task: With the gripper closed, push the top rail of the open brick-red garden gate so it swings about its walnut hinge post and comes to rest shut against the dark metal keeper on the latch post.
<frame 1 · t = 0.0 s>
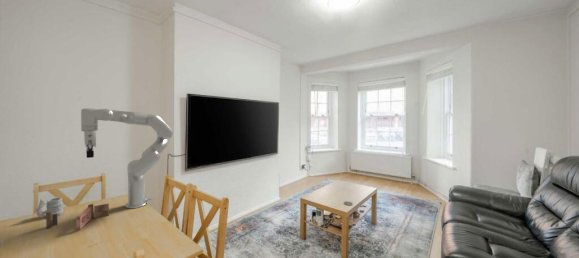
hand: (90, 156, 138), 37 cm above the table, tool pointing down, fingers open, 9 cm apart
mug: (50, 216, 136), on the table
gate: (84, 217, 126), point 4 cm above the table, hinge at 70.0°
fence: (90, 218, 135), on the table
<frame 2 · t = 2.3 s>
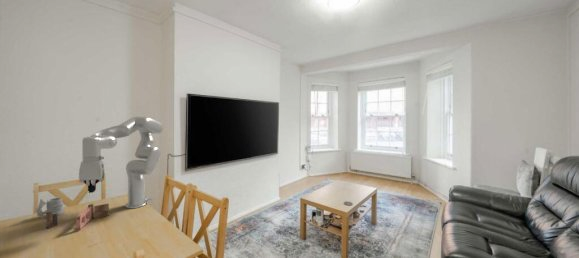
hand: (91, 191, 124), 20 cm above the table, tool pointing down, fingers closed
nothing on the table moved.
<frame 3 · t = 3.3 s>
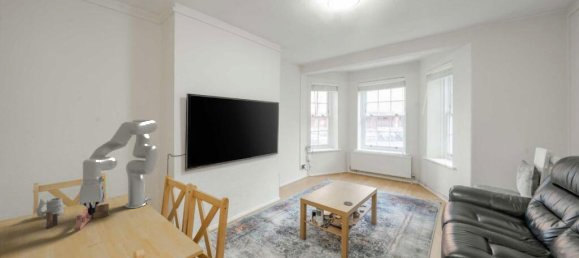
hand: (91, 214, 124), 8 cm above the table, tool pointing down, fingers closed
nothing on the table moved.
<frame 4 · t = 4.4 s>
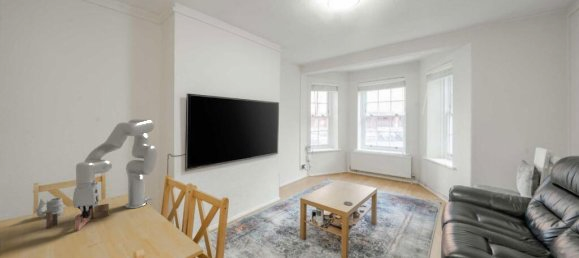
hand: (86, 217, 124), 6 cm above the table, tool pointing down, fingers closed
gate: (83, 217, 126), point 4 cm above the table, hinge at 67.8°, touching gripper
everything else where it was.
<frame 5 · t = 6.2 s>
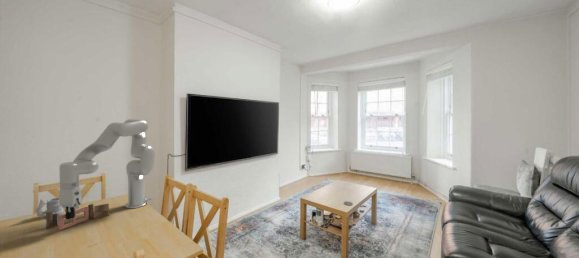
hand: (70, 218, 122), 6 cm above the table, tool pointing down, fingers closed
gate: (74, 217, 126), point 4 cm above the table, hinge at 32.6°, touching gripper
everything else where it was.
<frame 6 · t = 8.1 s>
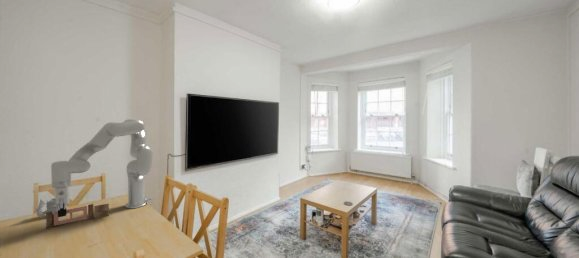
hand: (62, 216, 124), 6 cm above the table, tool pointing down, fingers closed
gate: (71, 215, 129), point 4 cm above the table, hinge at -0.1°, touching gripper
everything else where it was.
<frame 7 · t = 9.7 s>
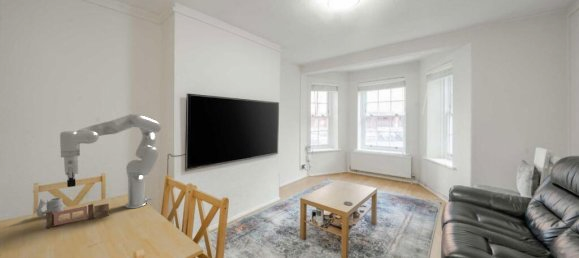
hand: (71, 186, 124), 23 cm above the table, tool pointing down, fingers closed
gate: (71, 215, 129), point 4 cm above the table, hinge at -0.2°
everything else where it was.
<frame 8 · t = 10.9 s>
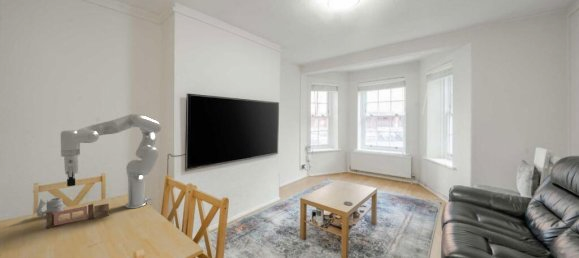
hand: (71, 185, 124), 23 cm above the table, tool pointing down, fingers closed
nothing on the table moved.
at the end: gate at +0° (first picture: +70°) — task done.
